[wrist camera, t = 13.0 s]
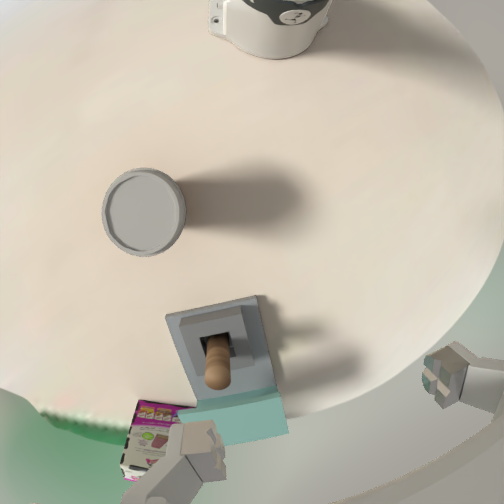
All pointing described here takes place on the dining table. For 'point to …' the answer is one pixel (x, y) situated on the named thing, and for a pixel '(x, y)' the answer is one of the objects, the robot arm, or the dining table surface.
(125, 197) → the disposable coffee cup
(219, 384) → the walnut dowel
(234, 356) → the socket station
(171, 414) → the candy bar box
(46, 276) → the dining table surface
